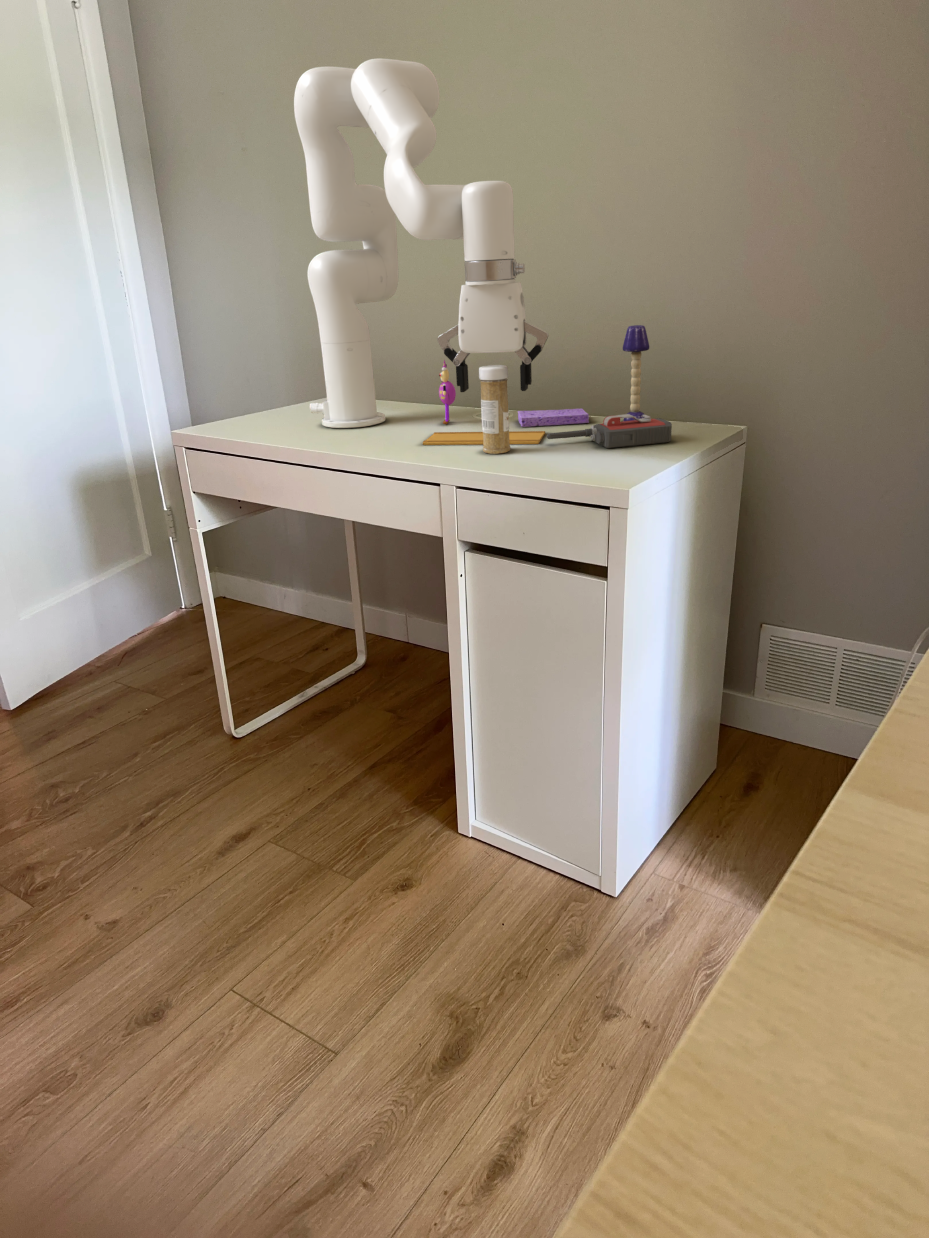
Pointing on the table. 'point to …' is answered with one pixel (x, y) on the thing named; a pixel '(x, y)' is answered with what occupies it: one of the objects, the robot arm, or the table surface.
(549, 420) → the sponge
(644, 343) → the toy lamp
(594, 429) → the walkie-talkie
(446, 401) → the purple clown figurine
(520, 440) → the wooden board
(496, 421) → the brown spice jar
